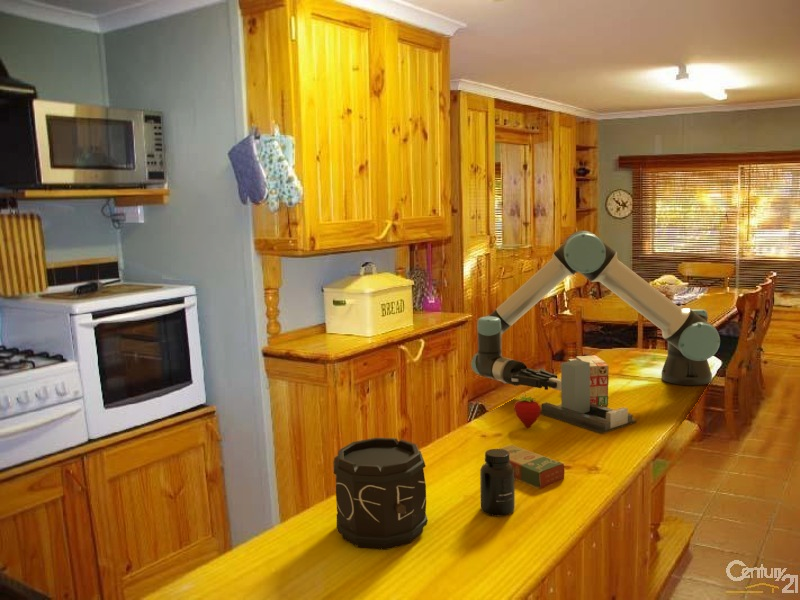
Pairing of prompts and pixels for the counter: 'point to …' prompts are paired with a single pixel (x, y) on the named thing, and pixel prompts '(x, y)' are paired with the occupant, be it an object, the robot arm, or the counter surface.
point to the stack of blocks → (597, 379)
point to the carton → (534, 467)
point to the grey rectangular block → (575, 385)
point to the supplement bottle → (497, 483)
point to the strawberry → (527, 410)
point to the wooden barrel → (380, 493)
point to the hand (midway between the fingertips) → (567, 387)
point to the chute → (590, 417)
